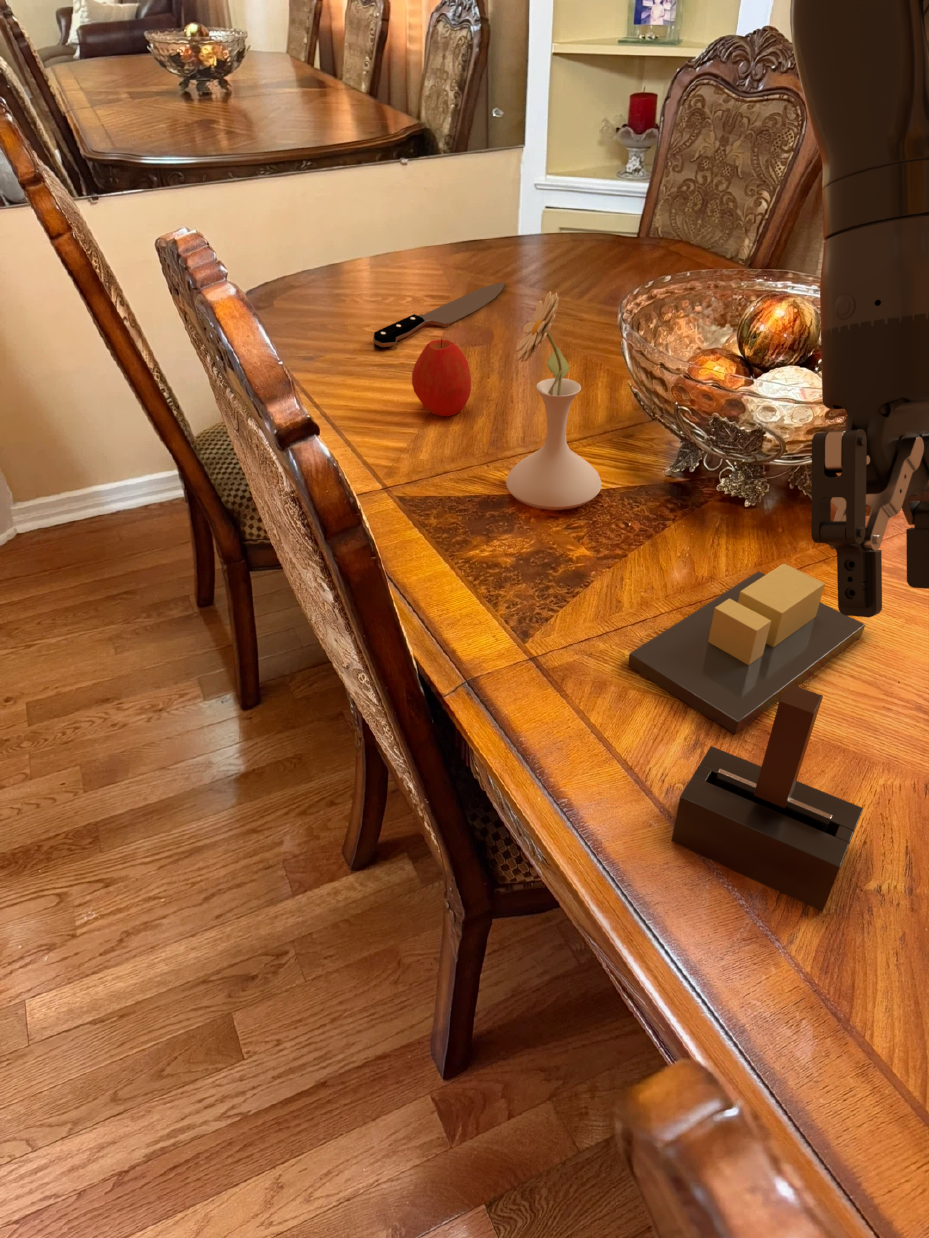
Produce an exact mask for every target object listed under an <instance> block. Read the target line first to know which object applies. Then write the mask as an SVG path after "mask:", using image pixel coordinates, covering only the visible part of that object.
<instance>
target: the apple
mask: <svg viewBox="0 0 929 1238" xmlns="http://www.w3.org/2000/svg"><path fill="white" fill-rule="evenodd" d="M411 385H412V389H413V392H414V393H415V394H414V395H416V397H417V398H418V400H419V401H420V403H421V404H422V406H423V407H424V409H425V410H427V411H428V412H429V413H431V414H434V415H436V416H439V417H449V416H454V415H457V414H460V413H461V412H462V411H463V410H464V408H465V407H466V405H467V403H468V400H469V398H470V396H471V391H472V376H471V371H470V365H469V362H468V360H467V358H466V356H465V354H464V353H463V351H462V350H461V349H460V348H459V346H458V345H457V344H455V342H452V341H451V340H448V339H443V338H440V339H434V340H431V341H429V342H428V343H427V344H426V345H425V346H424V348H423V349H422V351H421V353H420V354H419V356H418V358H417V359H416V362H415V364H414V366H413V368H412V372H411Z"/></svg>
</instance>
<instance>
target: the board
mask: <svg viewBox="0 0 929 1238" xmlns="http://www.w3.org/2000/svg"><path fill="white" fill-rule="evenodd" d="M765 575H766V574H765V573H763V572H761V571H756V572H754V573H753V574H751V576H749V577H747V578H745V579H744V580H742V581H740V582H739V583H737V584H736V585H734V586H733V587H731V588H730V589H729V590H726V591H725V592H723V593H722V594H721V595H719V596H717V597H716V598H714V599H713V600H711V601H709V602H708V603H707V604H704V605H703V606H701V607H700V608H699V609H697V610H695V611H694V612H692V613H690V614H689V615H687V616H686V617H684V618H683V619H681V620H680V621H678V622H677V623H675V624H673V625H672V626H670V627H669V628H667V629H666V630H664V631H662V632H661V633H659V634H658V635H656V636H655V637H653V638H651V639H650V640H648V641H647V642H645V643H643V644H642V645H640V646H639V647H637V648H636V649H634V650H633V651H631V652H630V653H629V654H628V662H627V666H628V667H630V668H631V669H632V670H634V671H635V672H637V673H639V674H641V675H642V676H644V677H645V678H647V679H648V680H650V681H651V682H652V683H654V684H656V685H658V686H659V687H661V689H664V690H665V691H667V692H669V693H670V694H672V695H673V696H675V697H677V698H678V699H679V700H680V701H682V702H684V703H686V704H687V705H689V706H690V707H692V708H693V709H695V710H696V711H698V712H699V713H701V714H703V715H704V716H706V717H707V718H709V719H710V720H712V721H713V722H715V723H716V724H718V725H720V726H721V727H723V728H725V729H726V730H727V731H729V732H731V733H732V734H734V735H737V734H738V733H739V732H741V731H742V730H744V729H745V728H746V727H747V726H749V724H751V723H752V722H754V720H756V719H757V718H759V717H761V715H762V714H764V713H765V712H766V711H768V710H769V709H770V708H771V707H773V706H774V705H775V704H777V703H779V701H780V699H781V697H782V695H783V694H784V692H785V690H786V688H787V686H788V685H789V684H792V685H795V686H798V687H799V686H800V685H801V684H802V683H804V682H805V681H806V680H808V679H809V678H810V677H811V676H812V675H814V674H815V673H816V672H818V671H819V670H821V668H823V667H824V666H826V665H827V664H828V663H829V662H831V661H832V660H833V659H834V658H836V657H837V656H838V655H840V654H841V653H842V652H844V651H845V650H846V649H848V648H849V647H850V646H851V645H852V644H854V643H855V642H856V641H857V640H859V639H860V638H861V637H862V636H863V633H864V630H865V626H866V624H865V623H863V622H861V621H859V620H857V619H855V618H853V617H852V616H847V615H843V614H842V613H841V612H840V611H839V610H837V609H835V608H833V607H831V606H829V605H827V604H825V603H823V602H821V601H820V603H819V607H818V610H817V614H816V617H815V618H813V619H812V620H811V621H809V622H808V623H806V624H805V625H804V626H802V627H801V628H800V629H798V630H797V631H795V632H794V633H793V634H791V635H790V636H788V637H787V638H786V639H784V640H783V641H782V642H780V643H779V644H777V645H776V646H775V647H772V646H770V645H768V644H765V648H764V652H763V655H762V656H761V657H759V658H758V659H757V660H755V661H754V662H752V663H751V664H750V665H747V664H746V663H744V662H742V661H740V660H739V659H737V658H735V657H733V656H732V655H730V654H728V653H727V652H725V651H723V650H721V649H720V648H718V647H716V646H714V645H713V644H711V643H709V642H708V640H709V635H710V630H711V625H712V620H713V614H714V609H715V607H717V606H718V605H720V604H721V603H723V602H725V601H726V600H728V599H732V600H733V601H735V602H737V603H738V599H739V595H740V591H742V590H743V589H745V588H746V587H748V586H749V585H751V584H752V583H754V582H755V581H757V580H759V579H760V578H762V577H763V576H765Z"/></svg>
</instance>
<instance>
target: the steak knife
mask: <svg viewBox="0 0 929 1238" xmlns="http://www.w3.org/2000/svg"><path fill="white" fill-rule="evenodd" d="M505 284H506V281H503V282H498V283H494V284H490V285H487V286H484V287H480V288H478V289H476V290H473V291H471V292H469V293H467V294H465V295H463V296H460V297H458V298H455V299H453V300H452V301H449V302H447V303H445V304H443V305H441V306H438V307H437V308H434V309H432V310H431V311H428V312H426V313H420V314H419V315H417V314H416V313H413V314H411V315H408V316H407V317H405V318H402V319H400V320H398V321H396V322H394V323H391V324H388V325H386V326H385V327H383V328H380V329H378V330H376V331H375V332H373V337H372V342H373V343H372V344H373V348H375V349H377V350H386V349H392V348H394V347H396V346H397V343H398V342H400V341H402V340H404V339H406V338H409V337H410V336H412V335H413V334H415V333H417V332H418V331H420V330H421V329H422V328H423V327H424V326H425V325H433V326H437V327H442V328H448V327H449V326H450V325H451V324H454V323H455V322H457V321H459V320H461V319H462V318H465V317H466V316H469V315H471V314H473V313H475V312H476V311H478V310H479V309H481V308H483V307H484V306H486V305H487V304H489V303H490V302H492V301H493V300H494V299H496V298H497V297H498V296H499V295H500V293H502V292H503V289H504V287H505Z"/></svg>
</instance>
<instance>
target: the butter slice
mask: <svg viewBox="0 0 929 1238" xmlns="http://www.w3.org/2000/svg"><path fill="white" fill-rule="evenodd" d="M770 624H771V620H769V619H767V618H765V617H763V616H762V615H760V614H758V613H756V612H754V611H752V610H750V609H748V608H747V607H745V606H743V605H741V604H739V603H737V602H735V601H733V600H732V599H728V600H726V601H725V602H723V603H721V604H720V605H718V606H717V607H715V609H714V614H713V620H712V625H711V630H710V635H709V640H708V642H709V643H711V644H713V645H714V646H716V647H718V648H720V649H721V650H723V651H725V652H727V653H728V654H730V655H732V656H733V657H735V658H737V659H739V660H740V661H742V662H744V663H746V664H747V665H750V664H751V663H752V662H754V661H755V660H757V659H758V658H759V657H761V656H762V655H763V652H764V648H765V644H766V640H767V636H768V632H769V628H770Z"/></svg>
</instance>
